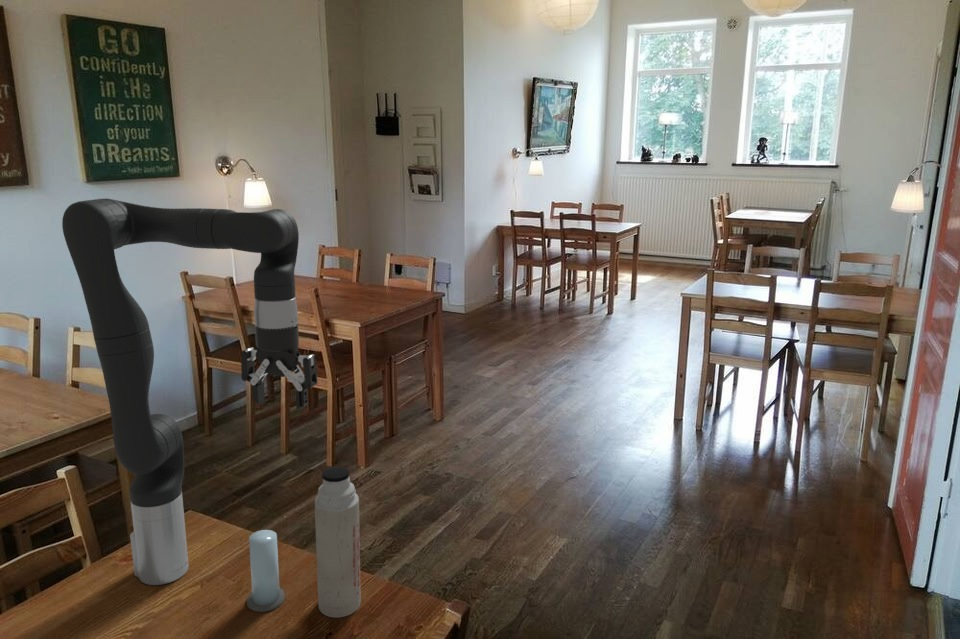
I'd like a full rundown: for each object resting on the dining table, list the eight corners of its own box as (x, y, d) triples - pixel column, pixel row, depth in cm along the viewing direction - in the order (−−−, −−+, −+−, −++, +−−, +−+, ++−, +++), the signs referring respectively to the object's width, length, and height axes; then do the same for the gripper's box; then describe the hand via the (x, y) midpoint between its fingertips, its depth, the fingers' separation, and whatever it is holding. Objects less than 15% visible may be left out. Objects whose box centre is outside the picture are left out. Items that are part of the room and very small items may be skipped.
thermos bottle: (366, 594, 133) (364, 464, 126) (351, 620, 126) (348, 484, 119) (328, 587, 135) (324, 459, 128) (311, 614, 127) (306, 478, 120)
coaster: (239, 608, 128) (239, 605, 128) (259, 585, 135) (259, 583, 135) (272, 615, 127) (272, 612, 126) (291, 592, 133) (291, 589, 133)
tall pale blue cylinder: (247, 602, 129) (243, 542, 126) (261, 586, 134) (258, 528, 130) (270, 607, 128) (267, 546, 124) (284, 591, 132) (281, 532, 129)
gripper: (229, 323, 120) (235, 408, 125) (301, 330, 117) (305, 417, 121) (253, 313, 128) (257, 394, 132) (322, 320, 124) (324, 402, 128)
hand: (280, 405), depth 126 cm, fingers open, 8 cm apart
